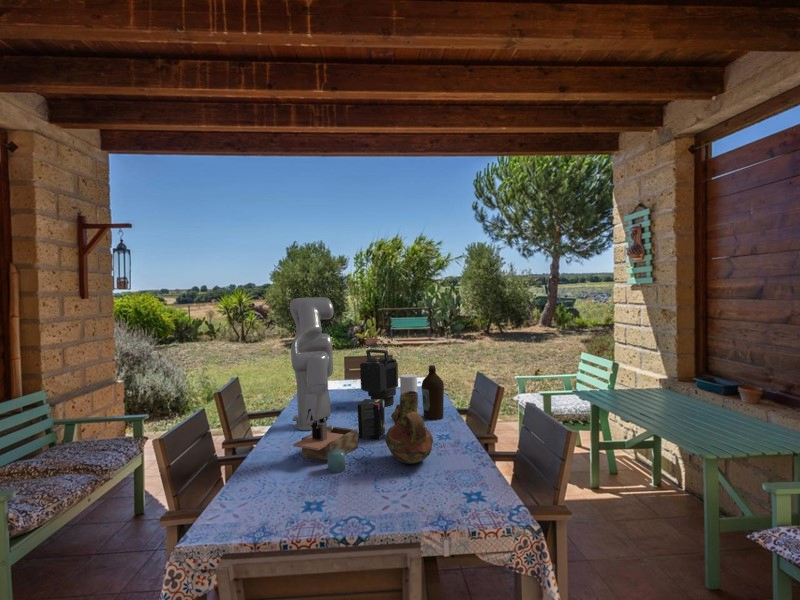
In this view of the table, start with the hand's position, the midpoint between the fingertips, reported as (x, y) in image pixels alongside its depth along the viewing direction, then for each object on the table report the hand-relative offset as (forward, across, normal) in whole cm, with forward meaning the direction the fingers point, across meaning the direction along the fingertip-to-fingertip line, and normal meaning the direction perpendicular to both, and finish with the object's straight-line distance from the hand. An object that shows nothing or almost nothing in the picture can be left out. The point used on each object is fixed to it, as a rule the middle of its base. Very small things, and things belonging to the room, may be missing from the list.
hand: (319, 436), depth 172 cm
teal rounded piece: (+8, +6, +12) cm, 16 cm away
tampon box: (+8, -31, +4) cm, 32 cm away
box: (+8, -7, 0) cm, 10 cm away
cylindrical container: (+8, -39, +18) cm, 43 cm away
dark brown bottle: (+8, -66, +17) cm, 68 cm away
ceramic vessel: (+8, -12, +31) cm, 34 cm away
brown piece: (+2, 0, 0) cm, 2 cm away
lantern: (+8, -78, -18) cm, 80 cm away
